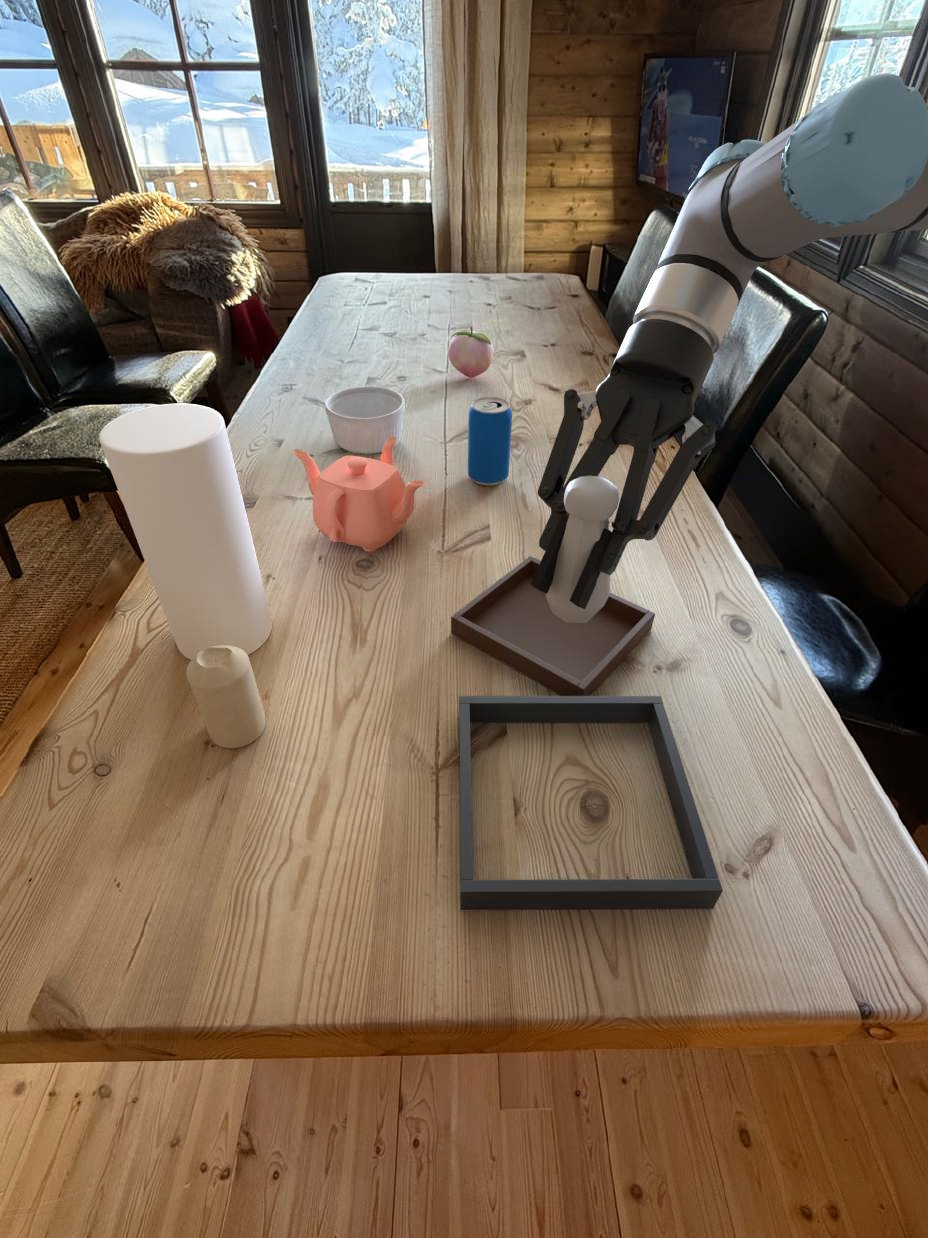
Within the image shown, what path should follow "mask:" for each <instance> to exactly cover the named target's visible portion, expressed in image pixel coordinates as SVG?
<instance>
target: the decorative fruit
mask: <svg viewBox="0 0 928 1238" xmlns="http://www.w3.org/2000/svg"><path fill="white" fill-rule="evenodd" d="M450 337H451V338H452V337H453V338H452V340H451V341H450V343H449V345H448V350H447V356H448V360H449V362H450V364H451V365H452V367H454V369H455V370H456V371H458V372H459V373H460V374H462V375H463V376H464V377H467V378H470V379H473V378H476V377H477V376H480V375H482V374H483V373H485V372H486V371H488V369H489V368H490V367H491V364H492V362H493V358H494V346H493V343H492V341H491V339H490V338H489V336H488V335H487V334H485V333H483V332H479V331H473V326H471V327H470V331H469V330H465V329H461V330H458V331H455V332H453V333H452V334H451V336H450Z"/></svg>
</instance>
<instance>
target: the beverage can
mask: <svg viewBox="0 0 928 1238" xmlns="http://www.w3.org/2000/svg"><path fill="white" fill-rule="evenodd" d="M467 423H468V424H467V425H468V427H467V430H468V431H467V476H468V477H469V479H470V480H472V481H473V482H475V483H476V484H478V485H481V486H497V485H499V484H501V483H503V482H504V481H505V480H507V479H508V478H509V475H510V462H511V461H510V460H511V458H510V457H511V443H512V441H511V440H512V427H513V426H512V425H513V411H512V408H511V403H510V402H509V401H508V400H507V399H504V398H503V397H499V396H483V397H478V398H476V399H474V400H473V401H472V402H471V407H470V408H469V410H468V421H467Z"/></svg>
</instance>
